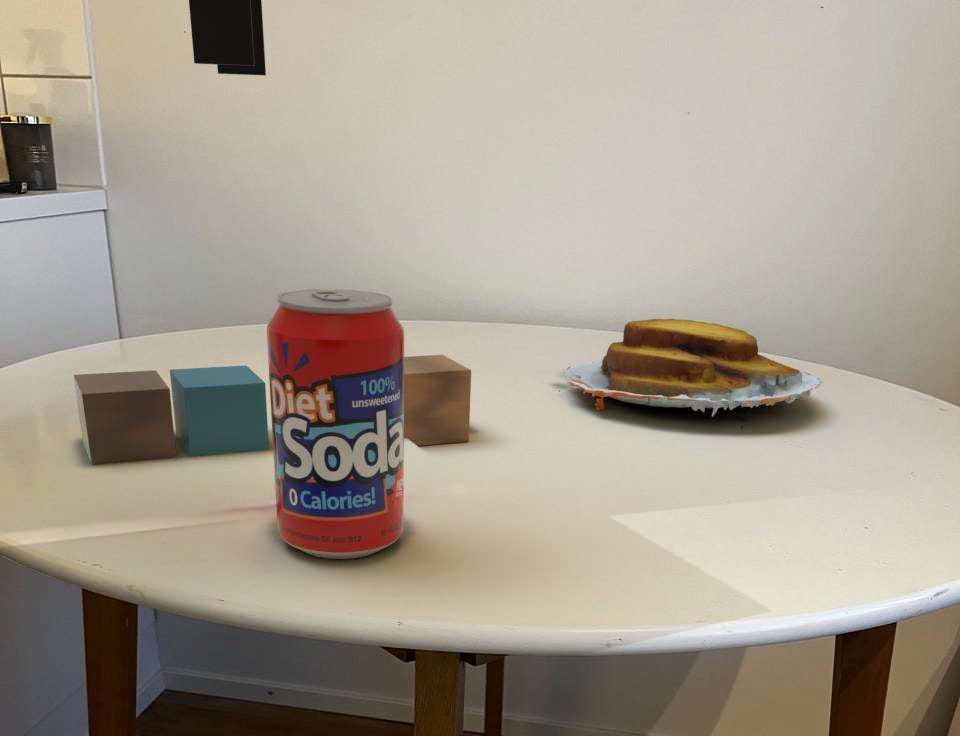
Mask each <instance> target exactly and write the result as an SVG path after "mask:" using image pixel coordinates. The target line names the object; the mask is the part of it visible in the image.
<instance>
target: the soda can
mask: <svg viewBox="0 0 960 736" xmlns="http://www.w3.org/2000/svg"><path fill="white" fill-rule="evenodd" d="M276 298H277V303H278V307H277V309H276V311H275V312H274V314H273V316H272V317H271V319H270V321H268V323H267V327H266V342H267V343H266V345H267V361H268V362H267V363H268V379H269V381H268V383H269V398H270V415H271V435H272V453H273V469H274V470H273V471H274V487H275V489H274V490H275V504H276V505H275V506H276V521H277V522H276V523H277V531H278V534H279V536H280V538H281V539H282V540H283V541H284V542H285V543H286V544H288V545H289V546H291V547H293V548H295V549H297V550H299V551H302V552H303V553H304V554H308V555H310V556H314V557H317V558H323V559H329V560H330V559H331V560H352V559H358V558H359V559H360V558H364V557H368V556H371V555H373V554H376V553H378V552H380V551H381V550H383V549H385V548H387V547H389V546H391V545H392V544H394V543H395V542H396V541H398V540H399V539H400V537H401V536H402V534H403V531H404V530H403V529H404V494H405V493H404V491H405V488H404V487H405V486H404V481H405V479H404V478H405V477H404V475H405V474H404V473H405V472H404V470H405V469H404V467H405V463H404V462H405V438H404V357H405V329H404V326H403V325H402V323H401V322H400V320H399V318H398V317H397V316H396V313H395V312H394V310H393V308H392V305H393V298H391V297H390V296H388V295H386V294H383V293H379V292H375V291H374V292H373V291H368V290H367V291H366V290H357V289H345V288H344V289H343V288H342V289H341V288H319V289H318V288H313V289H301V290H300V289H299V290H293V291H287V292H284V293H280V294H279V295H278V296H277V297H276Z"/></svg>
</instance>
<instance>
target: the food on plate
mask: <svg viewBox="0 0 960 736" xmlns="http://www.w3.org/2000/svg"><path fill="white" fill-rule="evenodd" d="M563 374H564V375H565V377H566V378H567V379H568V380H569V381H568V382H567V384H569V385H570V386H573V387H576V388H578V389H579V391H583V394H586V393H588V394H592V397H593V398H594V397H595V396H596V397H600V398H595V400H596V403H595V404H594V406H595V409H596V410H598V411H600V410H603V409H605V406H604V405H605V404H604V398H605V397H608V398H611V399H614V400H617V401H621V402H623V403H624V402H625V403H630V404H636V405H645V406H650V407H654V408H655V407H660V408H690V409H692V410H693V411H695V412H698V410H700V411H701V412H702V413H705V409H712V412H711V417H714V416H715V414H717V411H718V409H723V410H724V411H726V410H727V409H728V408H729V410H730V411H732V410H733V409H735V408H737V407H741V408H744V407H745V408H746V407H749V408H750V409H752V408H753V407H754V406H755V408H756V407H757V408H758V407H759V406H762V405H765V406H771V407H774V405H775V404H776V403H780V402H783V401H784V402H785V403H787V404H792V403H794V402H795V400H796V399H797V400H799V399H801V398H802V397H805V398H809V397H810V396H811V391H813V390H814V389H818V388H819V387H820V386H821V383H822V381H821V380H820V378H819V377H817V376H816V375H815V374H813V375H812V374H810V373H807V372H805V371H802V370H799V369H797V368H794V367H791V366H788V365H785V364H783V363H780V362H778V361H776V360H772V359H770V358H768V357H765V356H764V355H761V354H759V347H758V341H757V338H756V337H755V336H754V335H752V334H750V333H748V332H747V331H745V330H743V329H740V328H739V329H738V328H735V327H731V326H726V325H722V324H718V323H713V322H711V323H709V322H705V321H697V320H692V319H677V318H676V319H675V318H652V319H642V320H634V321H633V320H632V321H628V322H626V324H625V325H624V328H623V337H622V341H618V342H617V341H616V342H615V341H614V342H612V343H611V344H609V346H608V348H607V351H606V354H605V355H604V356H603V358H602V360H597V361H593V362H586V363H581V364H577V365H574V366H568V367H567V368H566V369H565V372H564V373H563ZM574 374H575V375H576V376H575V375H574ZM577 376H578V377H577ZM579 376H580V378H579ZM557 392H559V393H560V392H561V389H559V390H558V391H557ZM741 429H743V426H741Z"/></svg>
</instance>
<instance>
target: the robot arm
mask: <svg viewBox="0 0 960 736" xmlns="http://www.w3.org/2000/svg"><path fill="white" fill-rule="evenodd" d="M188 7H189V18H190V19H189V20H190V30H191V43H192V52H193V53H192V54H193V63H194V64H197V65H216V67H217V74H219V75H239V76H240V75H243V76H267V70H266V69H267V68H266V53H265V52H266V51H265V36H264V35H265V34H264V17H263V3H262V0H188Z"/></svg>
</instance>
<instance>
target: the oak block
mask: <svg viewBox="0 0 960 736" xmlns="http://www.w3.org/2000/svg"><path fill="white" fill-rule="evenodd" d="M471 389H472V369H470V368H468V367H467V366H465V365H463V364H461V363H459V362H457V361H455V360H453V359H452V358H450V357H448V356H446V355H444V354H431V355H414V356H404V439H407V440H409V442H411V443H412V444H414V445H415V446H417V447H424V446H433V445H435V446H436V445H444V444H445V445H446V444H457V443H467V442H469V440H470V419H471V418H470V417H471V416H470V414H471V395H472V394H471V392H472V391H471Z"/></svg>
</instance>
